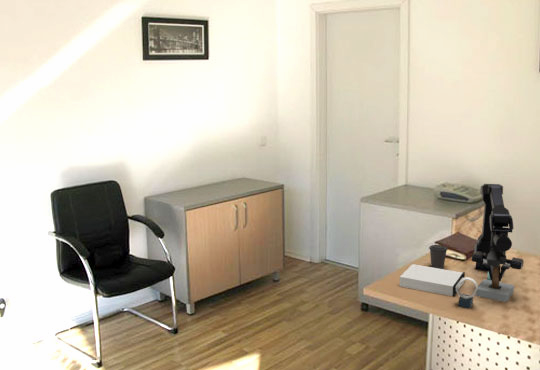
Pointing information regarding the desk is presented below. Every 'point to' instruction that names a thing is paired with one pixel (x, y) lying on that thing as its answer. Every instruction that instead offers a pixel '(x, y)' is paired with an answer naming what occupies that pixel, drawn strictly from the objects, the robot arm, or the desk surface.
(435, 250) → the coffee cup
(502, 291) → the block
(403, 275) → the disc drive
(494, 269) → the walnut pin
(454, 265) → the desk surface
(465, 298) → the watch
